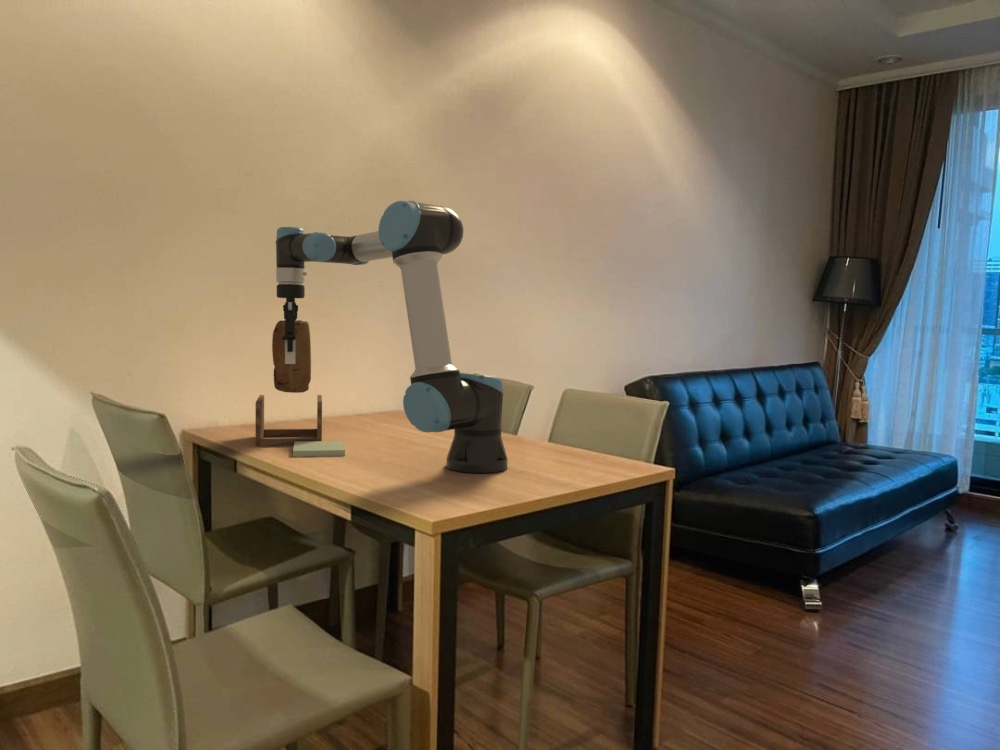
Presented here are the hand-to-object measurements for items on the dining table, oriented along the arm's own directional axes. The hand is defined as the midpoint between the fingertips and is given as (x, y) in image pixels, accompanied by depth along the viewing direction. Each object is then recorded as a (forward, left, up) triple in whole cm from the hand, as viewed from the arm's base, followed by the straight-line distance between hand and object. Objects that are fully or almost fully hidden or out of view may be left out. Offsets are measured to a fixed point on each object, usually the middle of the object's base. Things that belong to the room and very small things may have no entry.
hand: (290, 362), depth 217 cm
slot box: (0, 0, -22) cm, 22 cm away
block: (0, 0, -8) cm, 8 cm away
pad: (-16, -8, -22) cm, 28 cm away
